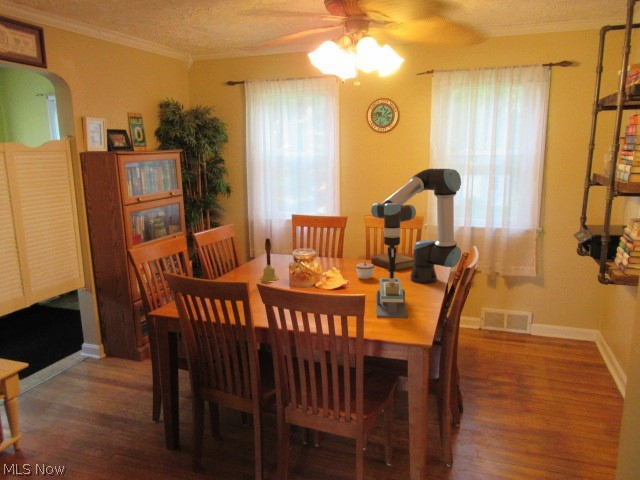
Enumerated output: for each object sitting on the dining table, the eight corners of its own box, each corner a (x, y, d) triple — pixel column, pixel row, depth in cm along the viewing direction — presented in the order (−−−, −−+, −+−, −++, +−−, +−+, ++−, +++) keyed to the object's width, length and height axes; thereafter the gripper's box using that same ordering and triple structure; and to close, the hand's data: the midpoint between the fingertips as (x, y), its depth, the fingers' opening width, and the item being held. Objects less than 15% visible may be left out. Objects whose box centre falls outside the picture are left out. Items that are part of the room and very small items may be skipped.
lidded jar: (373, 280, 268) (373, 265, 266) (355, 279, 270) (354, 264, 268) (374, 275, 278) (374, 260, 276) (357, 275, 280) (357, 260, 278)
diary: (371, 265, 305) (371, 256, 304) (392, 260, 316) (392, 252, 314) (395, 272, 287) (395, 263, 285) (416, 267, 297) (416, 258, 296)
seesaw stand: (402, 295, 239) (403, 281, 238) (407, 318, 208) (408, 301, 207) (375, 295, 241) (376, 280, 239) (376, 317, 210) (377, 300, 208)
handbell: (255, 281, 271) (253, 239, 266) (266, 275, 282) (264, 235, 277) (272, 283, 266) (271, 241, 261) (283, 277, 277) (282, 237, 272)
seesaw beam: (399, 284, 236) (399, 278, 236) (403, 303, 209) (403, 296, 209) (379, 284, 237) (380, 278, 237) (381, 303, 210) (381, 296, 210)
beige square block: (398, 293, 217) (398, 283, 216) (398, 297, 211) (399, 287, 210) (385, 293, 218) (385, 283, 217) (385, 297, 212) (385, 286, 211)
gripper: (383, 233, 223) (383, 280, 227) (384, 238, 210) (384, 288, 215) (399, 233, 222) (398, 280, 227) (401, 238, 209) (400, 288, 214)
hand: (391, 284), depth 221 cm, fingers closed
